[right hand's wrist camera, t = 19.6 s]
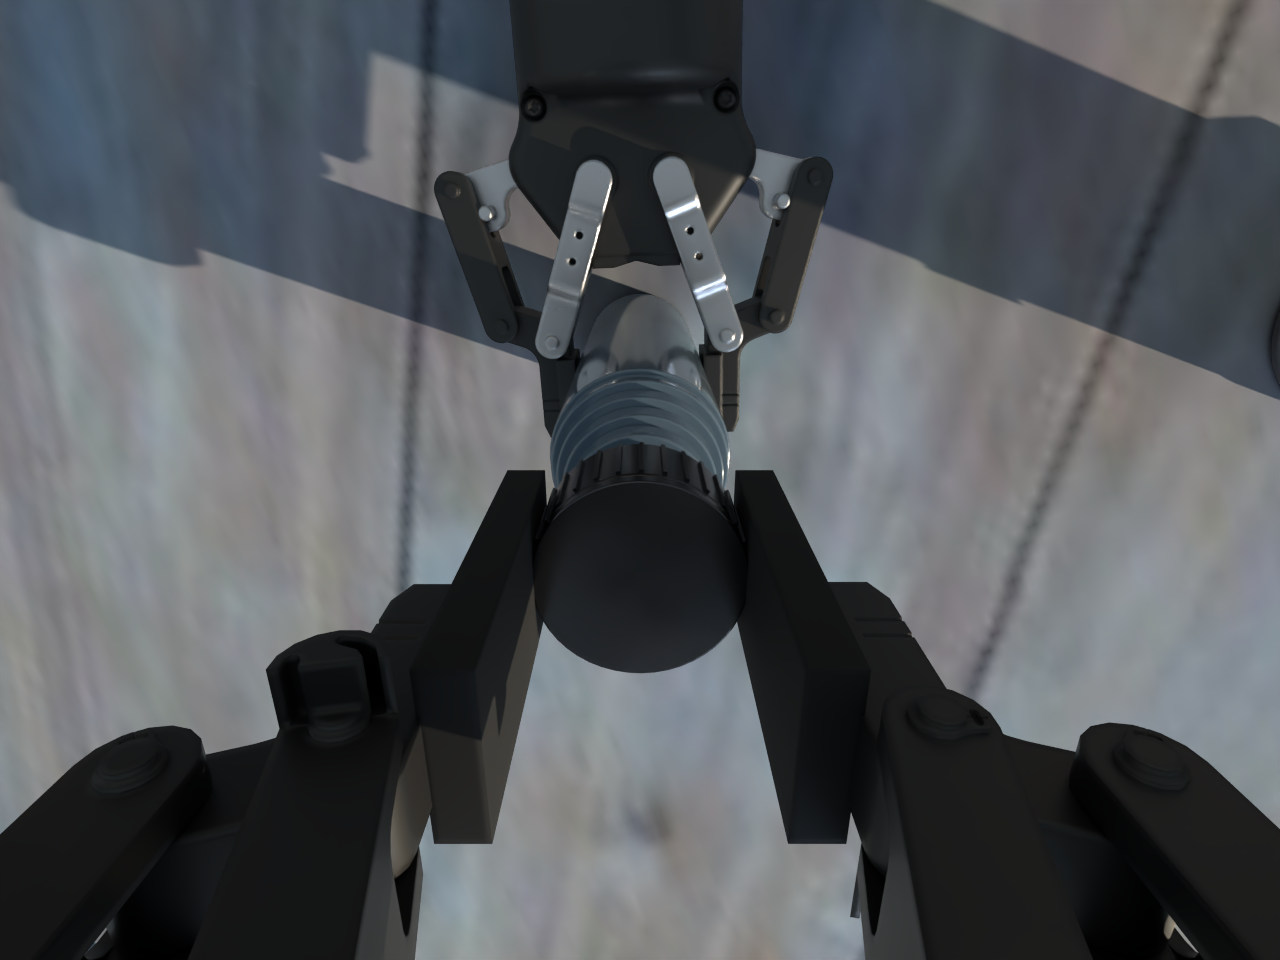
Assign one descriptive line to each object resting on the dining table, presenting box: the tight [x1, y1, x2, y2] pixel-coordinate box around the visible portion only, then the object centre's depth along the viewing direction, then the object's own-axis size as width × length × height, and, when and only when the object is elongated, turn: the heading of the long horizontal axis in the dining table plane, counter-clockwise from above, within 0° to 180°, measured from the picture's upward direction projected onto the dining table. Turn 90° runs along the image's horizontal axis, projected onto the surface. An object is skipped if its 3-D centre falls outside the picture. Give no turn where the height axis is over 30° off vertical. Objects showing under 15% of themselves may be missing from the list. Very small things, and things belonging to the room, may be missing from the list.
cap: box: [532, 442, 748, 673], centre depth 14 cm, size 4×4×2 cm
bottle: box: [550, 294, 730, 489], centre depth 23 cm, size 5×5×22 cm
